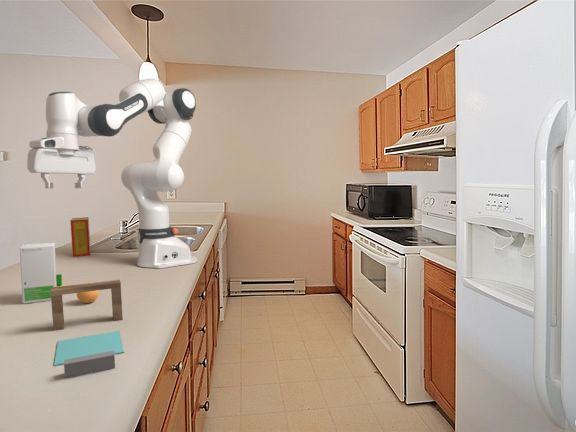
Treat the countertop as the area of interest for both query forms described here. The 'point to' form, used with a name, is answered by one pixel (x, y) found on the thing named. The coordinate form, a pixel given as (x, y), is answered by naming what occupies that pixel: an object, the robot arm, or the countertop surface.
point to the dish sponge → (59, 280)
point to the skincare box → (37, 271)
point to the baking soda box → (80, 236)
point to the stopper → (89, 364)
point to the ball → (88, 296)
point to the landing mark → (88, 346)
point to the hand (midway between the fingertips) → (64, 188)
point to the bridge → (59, 291)
